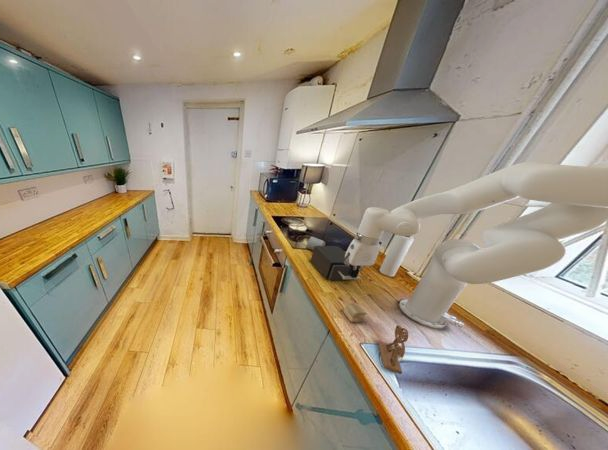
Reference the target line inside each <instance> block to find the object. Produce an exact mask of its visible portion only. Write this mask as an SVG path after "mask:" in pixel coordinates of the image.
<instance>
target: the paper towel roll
mask: <svg viewBox="0 0 608 450" xmlns="http://www.w3.org/2000/svg"><path fill="white" fill-rule="evenodd" d="M414 240H415V237H414V235H412V236H399V235H395V237H394V239H393V240H392V243H391V245H390V247H389V249H388V250H387V252H386V255H385V257H384V259H383V262H382V263H381V266H380V268H379V272H380V273H381V274H382V275H385V276H387V277H391V278H392V277H395V276H396V274H397V273H398V270H399V268H400V266H401V264H402V263H403V261H404V259H405V257H406V255H407V253H408V251H409V249H410V247H411V246H412V244H413V242H414Z"/></svg>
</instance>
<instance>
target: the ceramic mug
mask: <svg viewBox="0 0 608 450" xmlns="http://www.w3.org/2000/svg"><path fill="white" fill-rule="evenodd" d="M314 246H326V241H324V239H323V240H322V239H319V238H317V237H314V236H310V238H309V239H308V241H307V244H306V249H308V250H310V251H313V250H314Z"/></svg>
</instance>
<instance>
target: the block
mask: <svg viewBox="0 0 608 450" xmlns="http://www.w3.org/2000/svg"><path fill="white" fill-rule="evenodd" d="M342 313H343V314H344V315H345V316H346V318H348V320H349V322H351V323H352V322H353V323H354V322H355V323H357V322H358V323H359V322H364V320H365V318H366V316H367V311H365V309H364V308H363V307H362V306H361V305H360V304H359V303H357V302H356V303H353V302H352V303H351V302H350V303H346V304H345V307H344V309H343V312H342Z"/></svg>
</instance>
